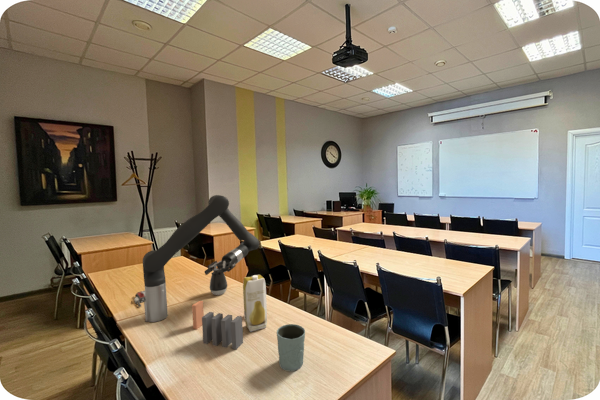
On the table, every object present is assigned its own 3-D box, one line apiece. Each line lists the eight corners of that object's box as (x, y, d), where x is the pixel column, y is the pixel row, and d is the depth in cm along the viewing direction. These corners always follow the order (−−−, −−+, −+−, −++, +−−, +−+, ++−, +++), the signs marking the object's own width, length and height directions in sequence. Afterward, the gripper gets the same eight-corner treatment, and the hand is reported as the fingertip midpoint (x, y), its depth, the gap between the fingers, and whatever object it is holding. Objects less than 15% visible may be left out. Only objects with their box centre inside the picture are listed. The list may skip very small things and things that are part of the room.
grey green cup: (277, 355, 104) (276, 324, 104) (304, 353, 105) (303, 322, 105) (278, 374, 94) (276, 340, 94) (307, 371, 95) (306, 337, 95)
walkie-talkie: (131, 298, 165) (138, 309, 150) (131, 290, 165) (137, 301, 150) (148, 294, 171) (156, 304, 155) (147, 287, 170) (155, 296, 155)
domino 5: (232, 348, 110) (230, 321, 109) (238, 341, 115) (237, 315, 114) (236, 349, 109) (235, 322, 109) (243, 342, 114) (241, 316, 113)
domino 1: (193, 328, 126) (191, 305, 126) (200, 323, 131) (199, 300, 130) (196, 329, 126) (195, 305, 125) (204, 324, 130) (202, 301, 130)
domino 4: (222, 346, 111) (220, 320, 111) (229, 340, 116) (228, 314, 116) (226, 347, 111) (225, 320, 110) (233, 340, 115) (232, 315, 115)
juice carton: (248, 333, 121) (246, 279, 119) (243, 325, 128) (241, 274, 126) (268, 328, 125) (266, 275, 123) (262, 320, 132) (260, 270, 130)
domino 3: (212, 345, 113) (211, 318, 112) (220, 338, 118) (218, 313, 117) (216, 345, 112) (215, 319, 112) (224, 339, 117) (222, 313, 116)
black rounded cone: (206, 295, 164) (204, 270, 163) (217, 289, 173) (216, 265, 172) (220, 298, 160) (218, 272, 159) (231, 291, 170) (229, 266, 169)
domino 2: (203, 343, 115) (201, 317, 114) (211, 336, 119) (209, 311, 119) (207, 343, 114) (205, 317, 113) (214, 337, 119) (213, 312, 118)
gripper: (221, 251, 153) (199, 266, 140) (240, 251, 147) (219, 267, 133) (224, 263, 155) (203, 279, 142) (244, 264, 148) (224, 281, 135)
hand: (211, 273), depth 137 cm, fingers open, 8 cm apart
